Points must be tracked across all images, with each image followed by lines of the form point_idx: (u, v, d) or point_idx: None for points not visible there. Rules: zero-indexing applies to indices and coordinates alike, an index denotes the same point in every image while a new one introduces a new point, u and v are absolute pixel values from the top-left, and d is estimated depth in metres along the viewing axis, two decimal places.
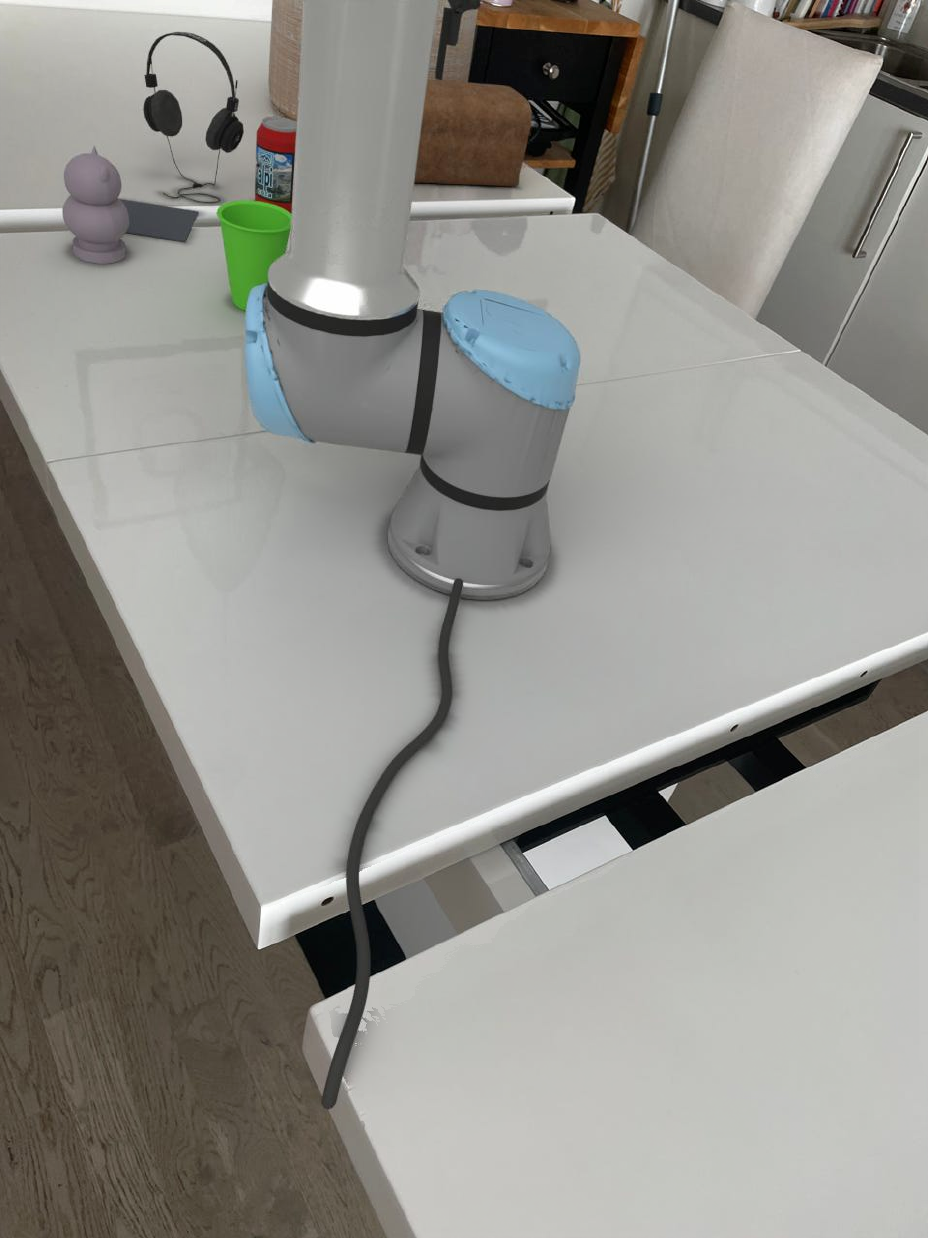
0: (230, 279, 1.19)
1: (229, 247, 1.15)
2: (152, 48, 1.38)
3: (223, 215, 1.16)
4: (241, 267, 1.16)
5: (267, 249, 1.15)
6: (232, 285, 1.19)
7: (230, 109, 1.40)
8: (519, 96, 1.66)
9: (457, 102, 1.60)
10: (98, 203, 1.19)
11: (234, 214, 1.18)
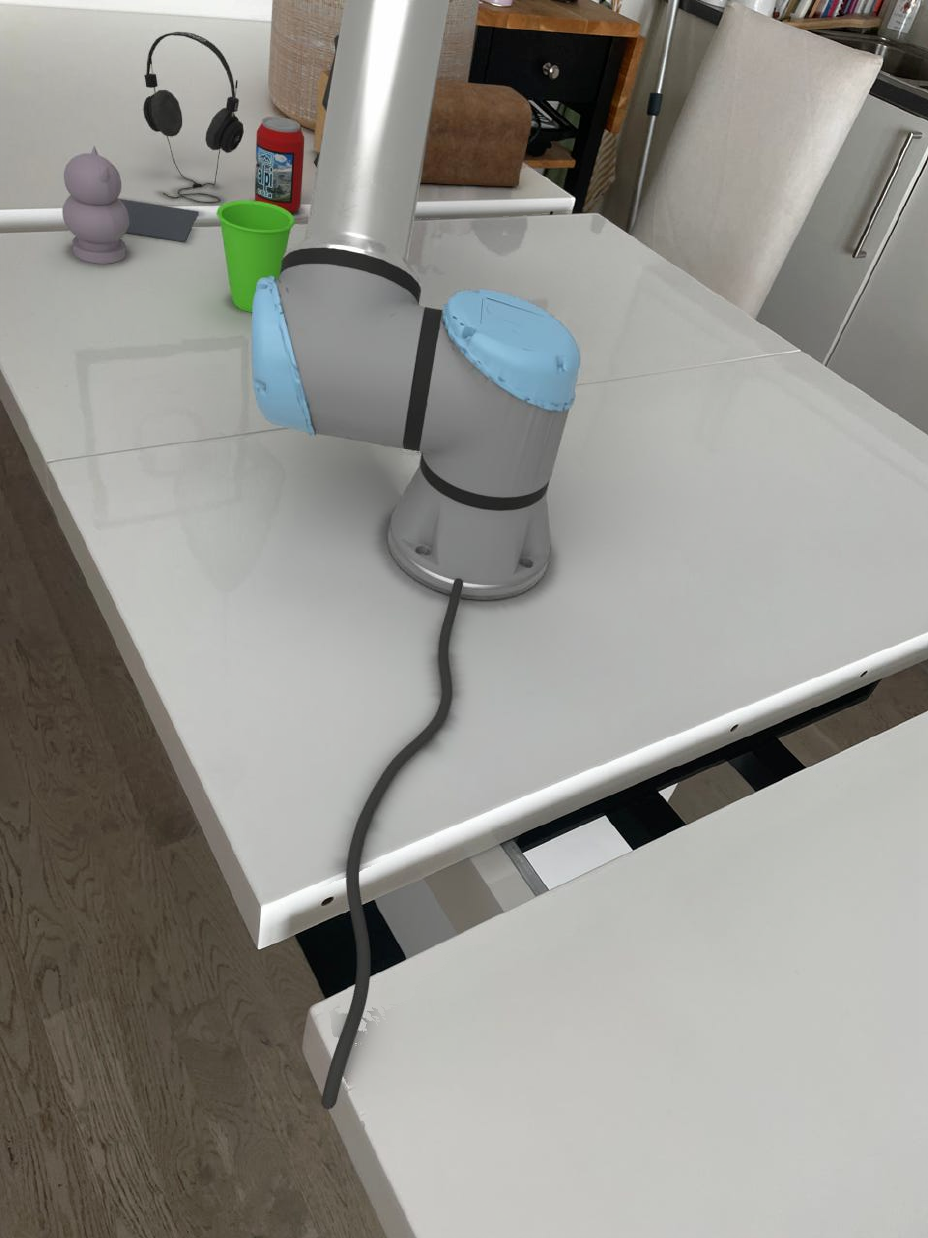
0: (230, 279, 1.19)
1: (229, 247, 1.15)
2: (152, 48, 1.38)
3: (223, 215, 1.16)
4: (241, 267, 1.16)
5: (266, 249, 1.15)
6: (232, 285, 1.19)
7: (230, 109, 1.40)
8: (519, 96, 1.66)
9: (457, 102, 1.60)
10: (98, 203, 1.19)
11: (234, 214, 1.18)
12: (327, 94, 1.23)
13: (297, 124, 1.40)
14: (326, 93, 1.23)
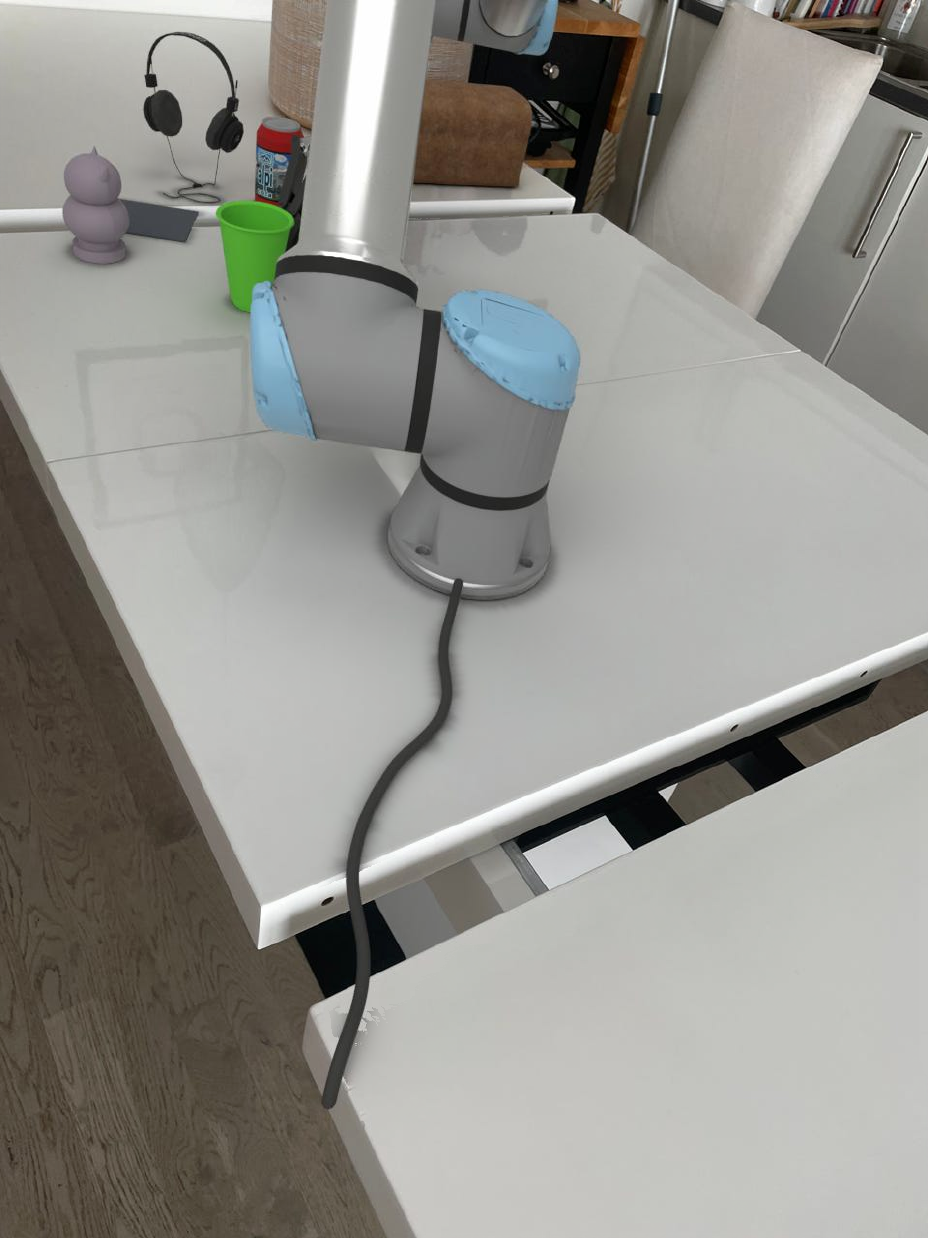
0: (229, 279, 1.19)
1: (228, 248, 1.15)
2: (152, 48, 1.38)
3: (222, 215, 1.16)
4: (240, 268, 1.16)
5: (266, 250, 1.15)
6: (231, 285, 1.19)
7: (230, 109, 1.40)
8: (519, 96, 1.66)
9: (457, 103, 1.60)
10: (98, 203, 1.19)
11: (233, 214, 1.18)
12: (283, 194, 1.24)
13: (297, 124, 1.40)
14: (282, 193, 1.24)
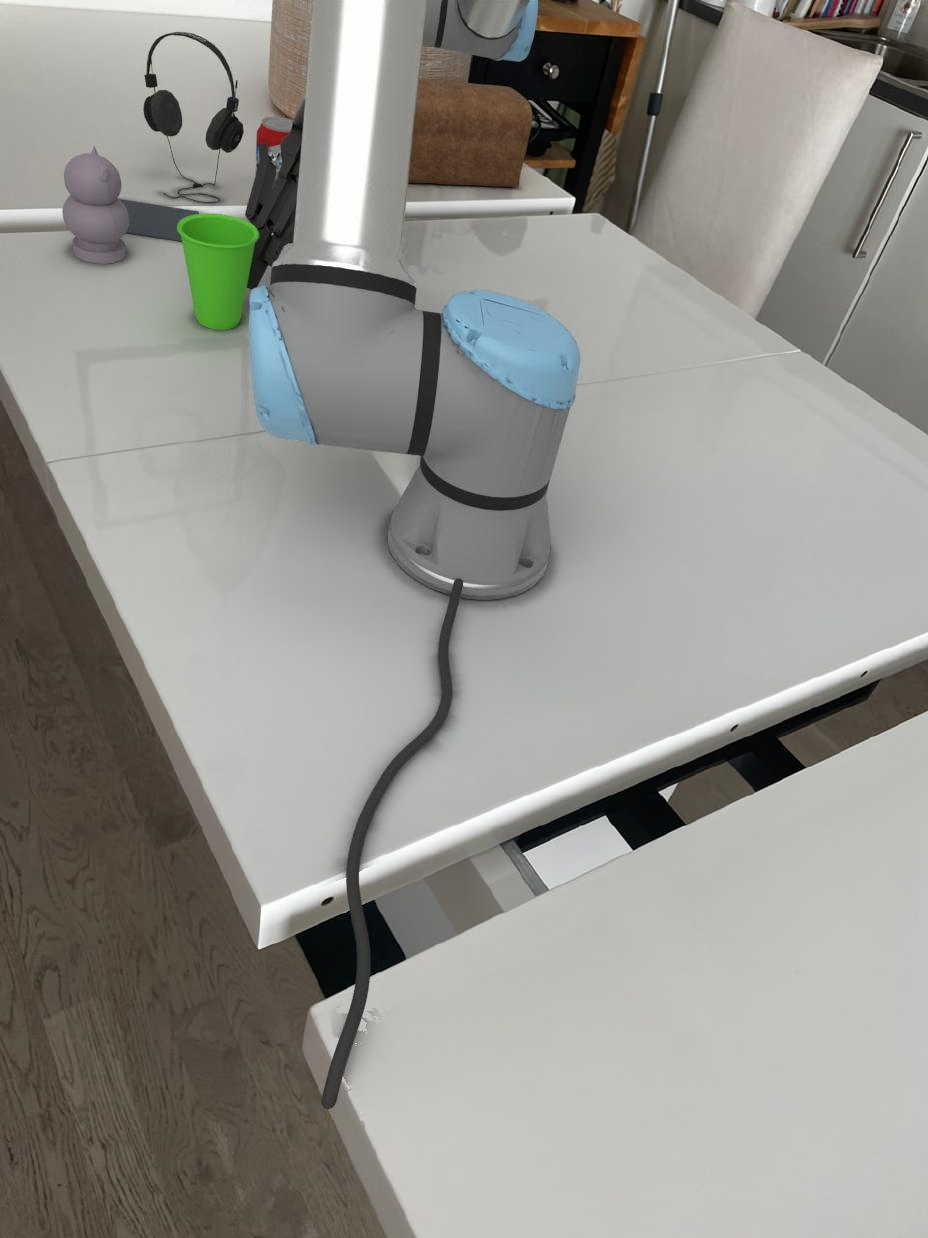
0: (193, 296, 1.14)
1: (191, 263, 1.11)
2: (152, 48, 1.38)
3: (184, 229, 1.11)
4: (204, 284, 1.12)
5: (230, 265, 1.10)
6: (195, 302, 1.14)
7: (230, 109, 1.40)
8: (519, 96, 1.66)
9: (458, 103, 1.60)
10: (98, 203, 1.19)
11: (196, 228, 1.13)
12: (250, 205, 1.20)
13: None
14: (249, 204, 1.20)
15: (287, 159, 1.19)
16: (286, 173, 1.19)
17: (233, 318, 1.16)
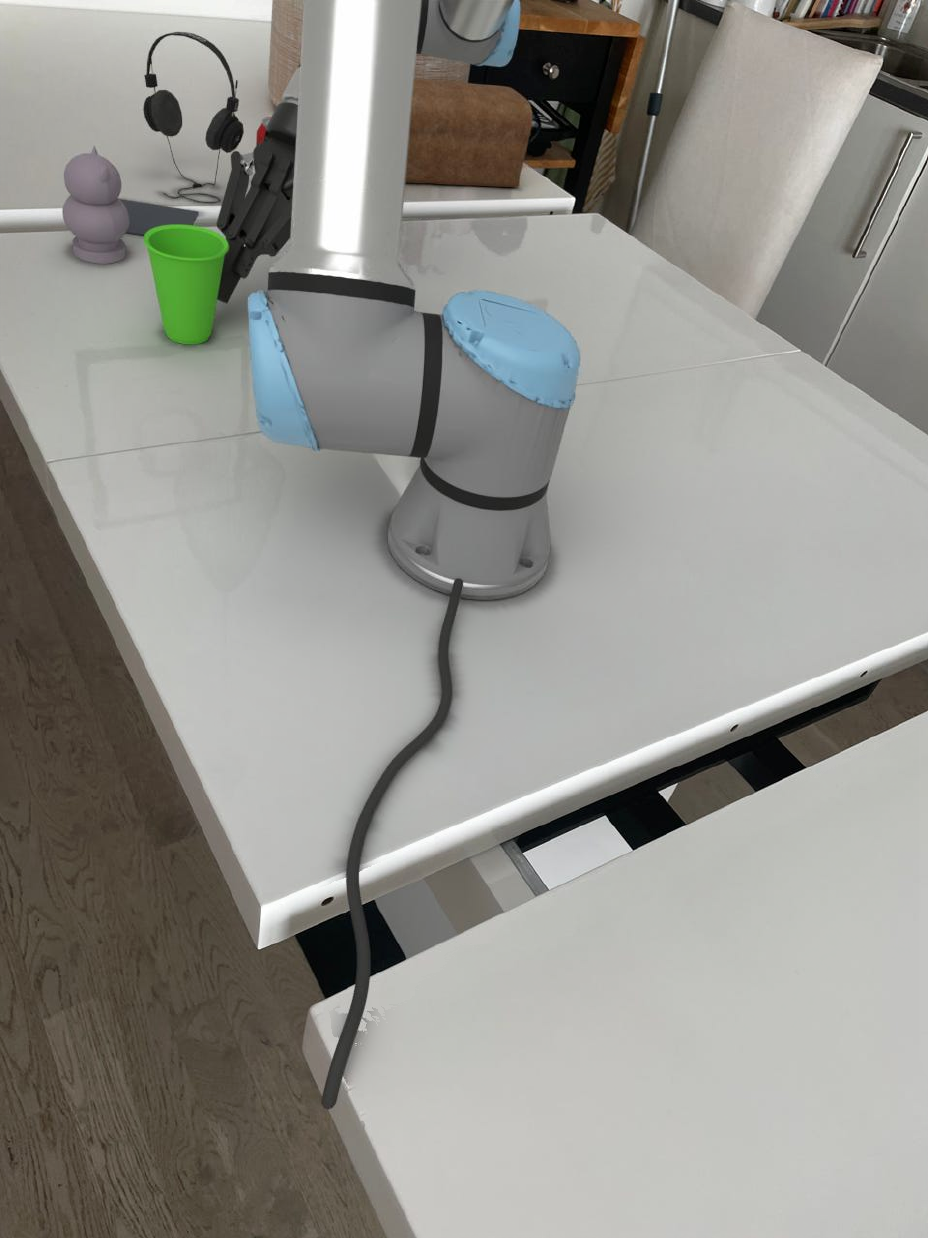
0: (161, 309, 1.10)
1: (158, 276, 1.07)
2: (152, 48, 1.38)
3: (151, 241, 1.07)
4: (171, 297, 1.08)
5: (198, 278, 1.06)
6: (163, 316, 1.11)
7: (230, 109, 1.40)
8: (519, 96, 1.66)
9: (458, 103, 1.60)
10: (98, 203, 1.19)
11: (163, 239, 1.09)
12: (222, 215, 1.16)
13: None
14: (221, 214, 1.16)
15: (260, 167, 1.15)
16: (259, 182, 1.15)
17: (203, 332, 1.12)
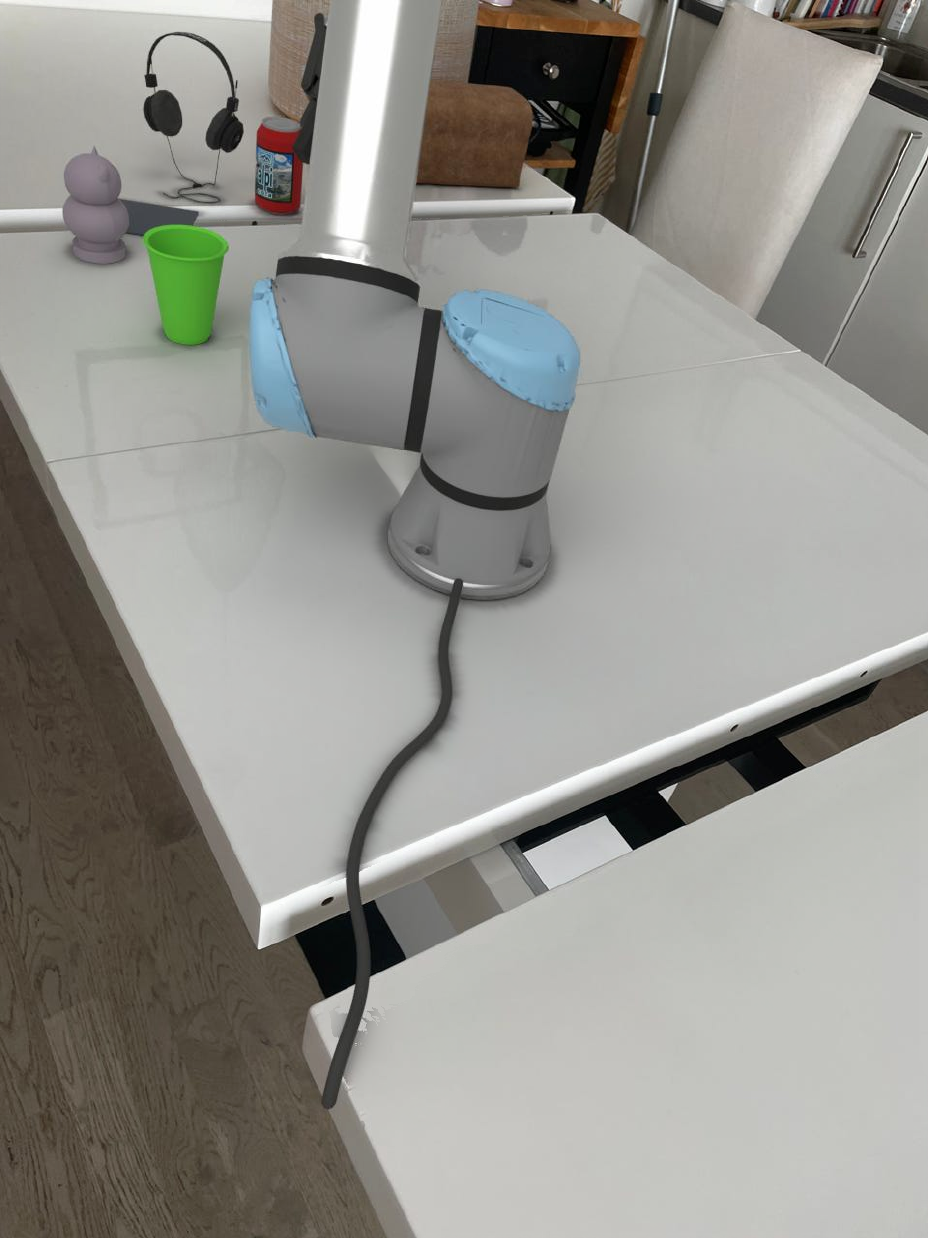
0: (160, 310, 1.10)
1: (157, 276, 1.07)
2: (152, 48, 1.38)
3: (150, 241, 1.07)
4: (171, 298, 1.08)
5: (198, 278, 1.06)
6: (163, 316, 1.11)
7: (230, 109, 1.40)
8: (520, 97, 1.66)
9: (458, 103, 1.60)
10: (98, 203, 1.19)
11: (163, 240, 1.09)
12: (306, 75, 1.16)
13: (297, 124, 1.40)
14: (305, 75, 1.16)
15: None
16: None
17: (202, 333, 1.12)
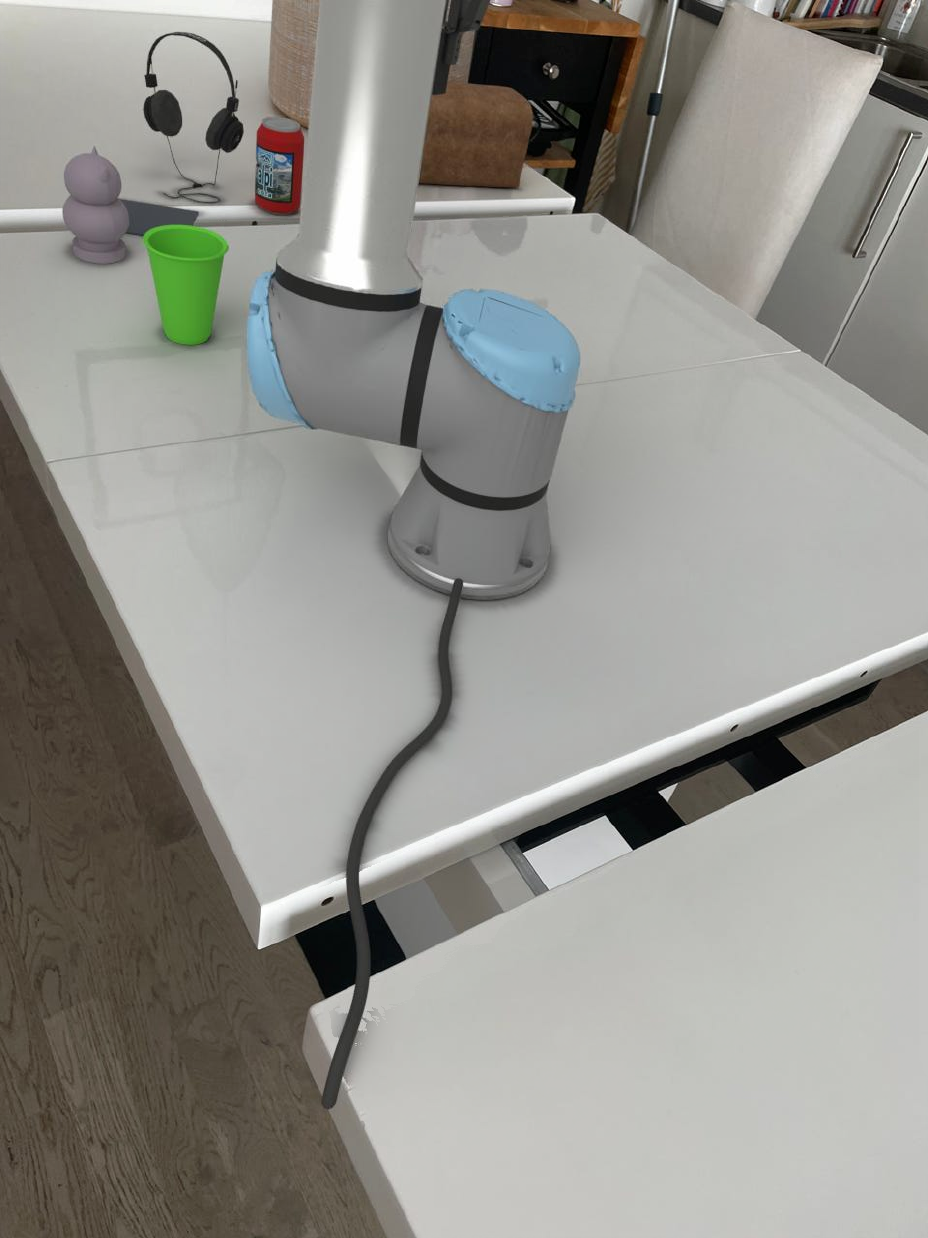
0: (160, 310, 1.10)
1: (157, 276, 1.07)
2: (152, 48, 1.38)
3: (150, 241, 1.07)
4: (171, 298, 1.08)
5: (198, 278, 1.06)
6: (163, 316, 1.11)
7: (230, 109, 1.40)
8: (520, 97, 1.66)
9: (458, 103, 1.60)
10: (98, 203, 1.19)
11: (163, 240, 1.09)
12: None
13: (297, 124, 1.40)
14: None
15: None
16: None
17: (202, 333, 1.12)
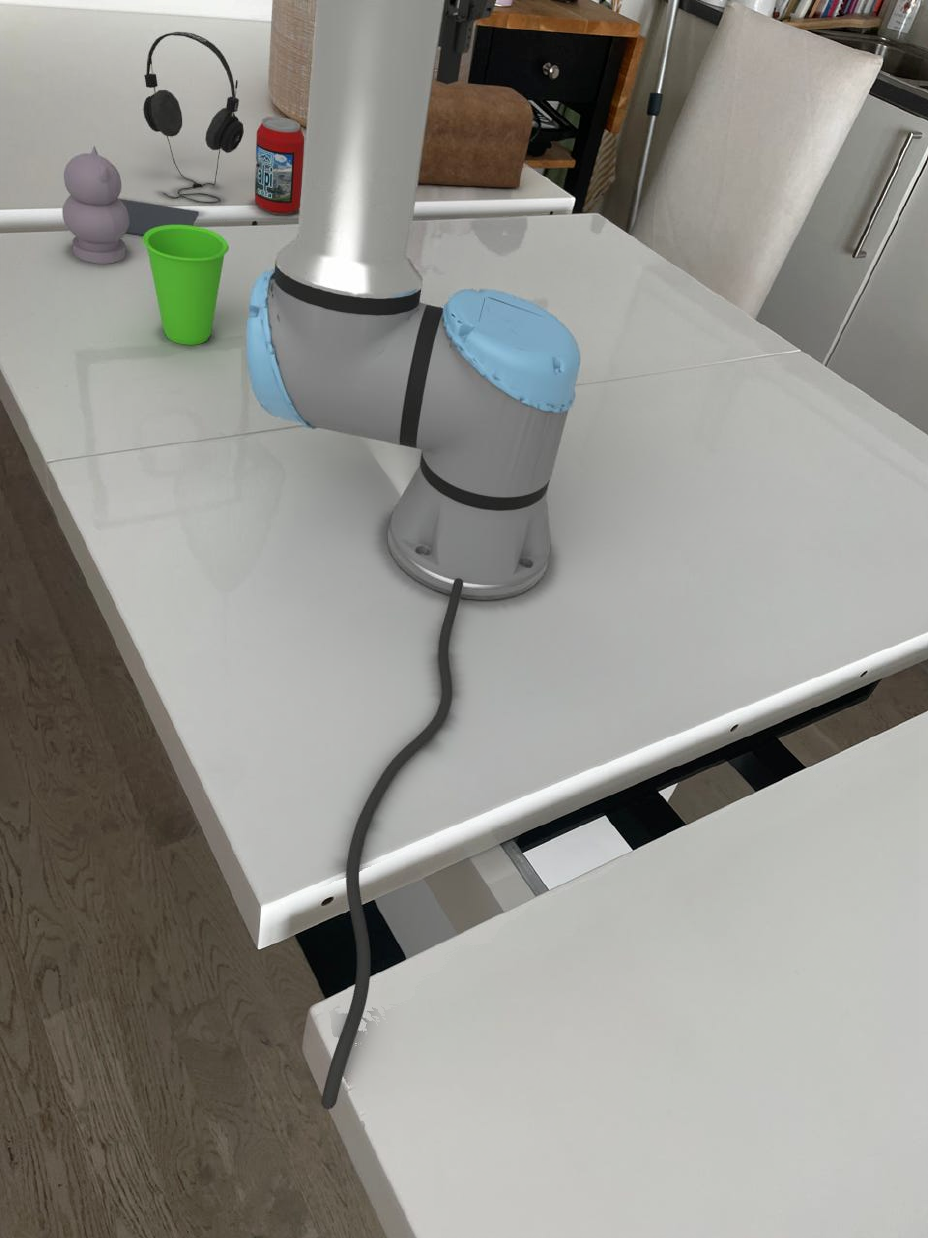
0: (160, 310, 1.10)
1: (157, 276, 1.07)
2: (152, 48, 1.38)
3: (150, 241, 1.07)
4: (171, 298, 1.08)
5: (198, 278, 1.06)
6: (163, 316, 1.11)
7: (230, 109, 1.40)
8: (520, 97, 1.66)
9: (458, 103, 1.60)
10: (98, 203, 1.19)
11: (163, 240, 1.09)
12: None
13: (297, 124, 1.40)
14: None
15: None
16: None
17: (202, 333, 1.12)
